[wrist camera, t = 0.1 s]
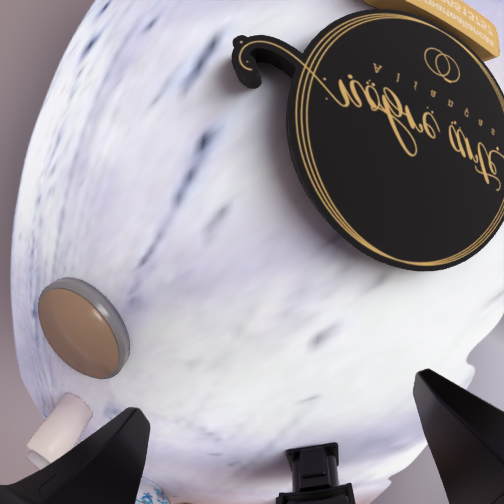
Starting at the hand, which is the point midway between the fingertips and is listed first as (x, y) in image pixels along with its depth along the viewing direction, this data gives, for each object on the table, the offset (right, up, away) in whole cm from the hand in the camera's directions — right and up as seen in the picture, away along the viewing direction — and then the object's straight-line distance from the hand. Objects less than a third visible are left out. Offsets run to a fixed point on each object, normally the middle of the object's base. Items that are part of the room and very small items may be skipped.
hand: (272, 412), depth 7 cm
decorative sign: (+13, +16, +10) cm, 23 cm away
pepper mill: (-26, -17, +23) cm, 39 cm away
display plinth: (-18, -3, +18) cm, 26 cm away
